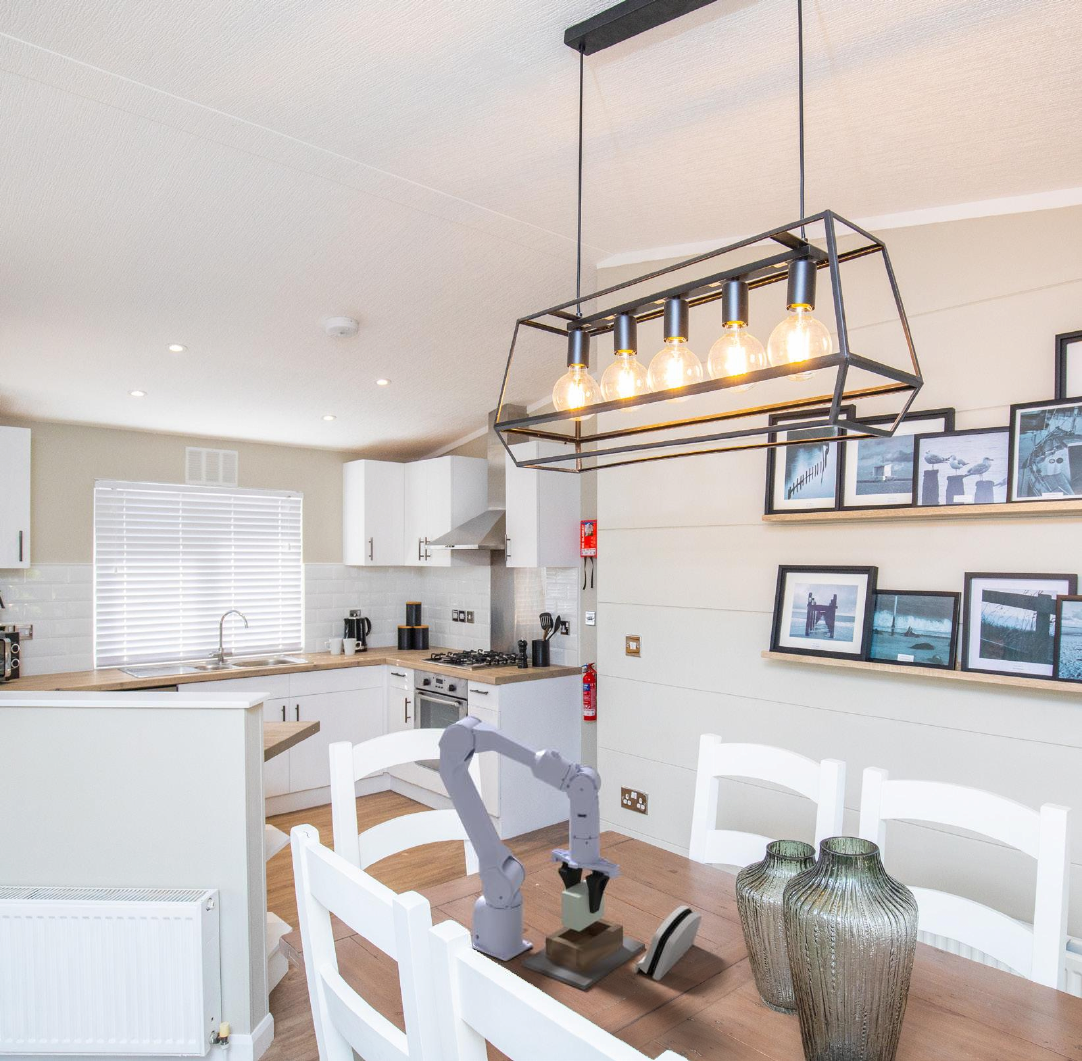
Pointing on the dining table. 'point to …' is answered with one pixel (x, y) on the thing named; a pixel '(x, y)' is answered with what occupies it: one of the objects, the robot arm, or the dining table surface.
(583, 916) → the pale green block
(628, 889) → the dining table surface
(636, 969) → the white black rounded slab
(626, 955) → the wooden box frame
